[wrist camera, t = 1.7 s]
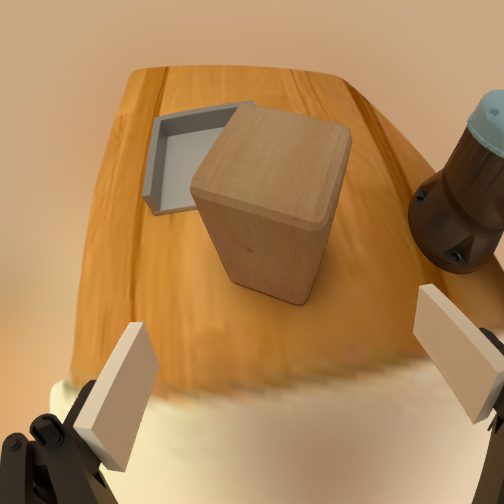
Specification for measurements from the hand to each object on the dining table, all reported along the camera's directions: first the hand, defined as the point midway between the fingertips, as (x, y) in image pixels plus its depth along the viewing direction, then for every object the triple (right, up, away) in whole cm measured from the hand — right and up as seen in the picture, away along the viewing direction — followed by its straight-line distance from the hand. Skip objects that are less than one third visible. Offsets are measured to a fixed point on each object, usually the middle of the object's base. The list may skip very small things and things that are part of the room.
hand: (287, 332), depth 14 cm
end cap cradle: (-8, +17, +33) cm, 38 cm away
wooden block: (+2, +3, +26) cm, 26 cm away
